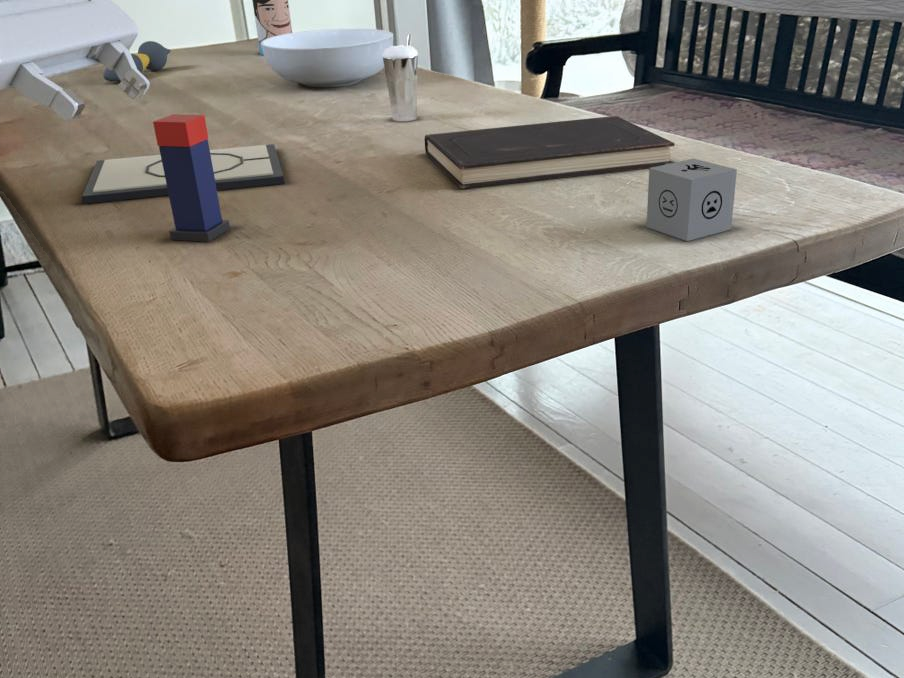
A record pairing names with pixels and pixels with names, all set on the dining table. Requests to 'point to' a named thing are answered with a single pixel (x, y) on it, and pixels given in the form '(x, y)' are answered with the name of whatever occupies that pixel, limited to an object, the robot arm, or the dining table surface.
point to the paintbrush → (144, 59)
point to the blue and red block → (189, 177)
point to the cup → (271, 19)
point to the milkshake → (402, 80)
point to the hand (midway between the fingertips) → (111, 102)
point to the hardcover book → (545, 151)
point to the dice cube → (690, 198)
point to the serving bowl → (327, 55)
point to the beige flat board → (149, 179)
